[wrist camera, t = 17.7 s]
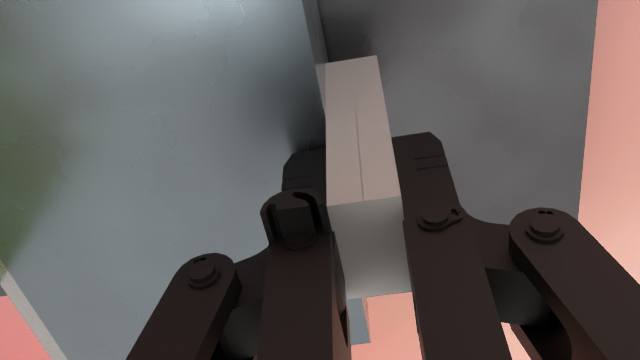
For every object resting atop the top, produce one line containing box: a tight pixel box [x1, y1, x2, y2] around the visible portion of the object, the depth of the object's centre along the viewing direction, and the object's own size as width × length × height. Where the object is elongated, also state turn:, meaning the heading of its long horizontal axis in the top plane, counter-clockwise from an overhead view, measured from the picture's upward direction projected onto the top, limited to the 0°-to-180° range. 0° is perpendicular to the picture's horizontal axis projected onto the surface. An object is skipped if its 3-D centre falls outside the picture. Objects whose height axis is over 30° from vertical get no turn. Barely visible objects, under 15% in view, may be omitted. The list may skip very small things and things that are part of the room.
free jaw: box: [0, 0, 371, 360], centre depth 18 cm, size 14×10×4 cm
